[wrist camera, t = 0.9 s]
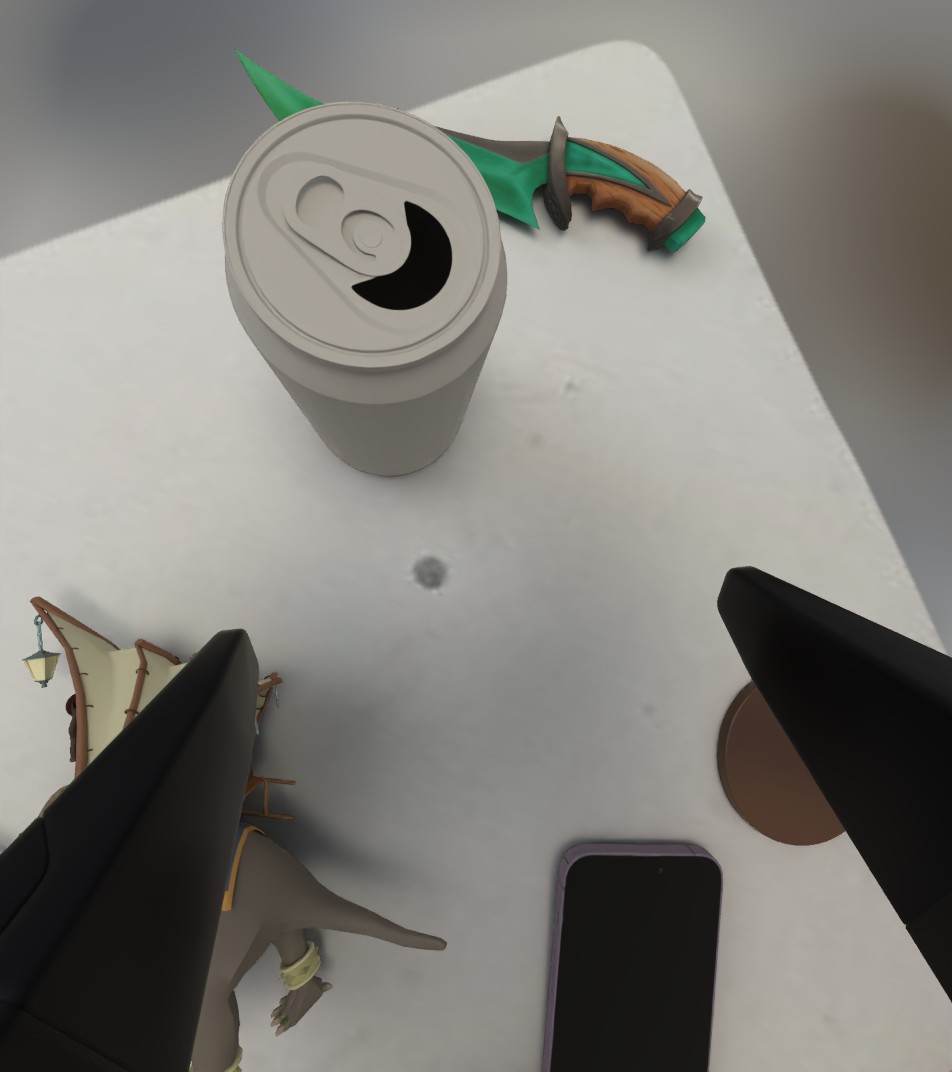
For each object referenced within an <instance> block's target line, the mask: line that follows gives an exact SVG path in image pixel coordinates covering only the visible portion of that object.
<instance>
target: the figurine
mask: <svg viewBox="0 0 952 1072" xmlns="http://www.w3.org/2000/svg"><path fill="white" fill-rule="evenodd" d="M30 602H31V603H32V605H33V606H34V608H35V609H36V610H37V612H38V613H39V615H38V616H36V617H35V619H34V624H35V625H36V626H37V636H38V646H39V651H38V652H37V653H35V654H33V655H32V656H30V657H28V658H26V659H23V660H22V661H24V663H25V665H26V667H27V668H28V670H29V672H30V674H31V675H32V677H33V679H34V681H35V682H39V683H40V684H42V688H44V687H47V684H46V683H48V680H50V679H52V677H53V674H54V671H55V668H56V664H57V661H58V658H59V655H60V654H61V653H50V652H46V651H44V650H43V642H42V632H41V624H42V623H43V620H44V621H45V623H46V624H47V625H48V627H49V628H50V630H51V631H52V632H53V634H54V635H55V636H56V638H57V639H58V641H59V642H60V643H61V645H62V646H63V647H64V649H65V652H66V656H67V660H68V664H69V668H70V672H71V676H72V680H73V684H74V688H75V692H76V694H74V695H72V696H71V697H70V698H69V699H68V701H67V703H66V710H67V713H68V714H70V715H71V716H72V721H71V723H70V727H69V734H70V739H71V747H70V755H71V758H70V762H75V761H76V766H75V778H76V777H77V776H78V775H79V774H80V773H81V772H82V771H83V770H84V769H85V768H86V767H87V766H88V765H89V764H90V763H91V762H92V761H93V760H94V759H95V758H96V757H97V756H98V755H99V754H100V753H101V752H102V751H103V750H104V748H105V747H106V746H107V745H108V744H109V743H110V742H111V741H112V740H113V739H114V738H115V737H116V736H117V735H118V734H119V733H120V732H121V731H122V730H123V729H124V728H125V727H126V726H127V725H128V724H129V723H130V722H131V721H132V720H133V719H134V718H135V717H136V716H137V715H138V714H139V713H140V711H141V710H142V709H143V708H144V707H145V706H146V705H147V704H148V703H149V702H150V701H151V700H152V699H153V698H154V697H155V696H156V695H157V694H158V693H159V692H160V691H161V690H162V689H163V688H164V687H165V686H166V685H167V684H168V683H169V682H170V681H171V680H172V679H173V678H174V677H175V676H176V675H177V673H178V672H179V671H180V670H181V669H182V668H183V667H184V666H185V665H186V664H187V663H185V664H181V663H180V662H179V658H178V657H174V656H173V655H172V654H170V653H169V652H167V651H165V650H163V649H161V648H159V647H157V646H155V645H153V644H151V643H149V642H147V641H145V640H143V639H138V640H137V641H136V642H135V643H134V644H135V647H136V648H130V649H124V650H121V649H119V648H118V647H117V646H116V645H114V644H113V643H112V642H111V641H109V640H108V639H106V638H105V637H103V636H101V635H100V634H98V633H97V632H95V631H94V630H92V629H90V628H89V627H87V626H86V625H84V624H82V623H81V622H79V621H78V620H76V619H74V618H73V617H71V616H70V615H68V614H66V613H65V612H63V611H62V610H60V609H59V608H57V607H55V606H54V605H52V604H51V603H49V602H47V601H46V600H44V599H43V598H41V597H34V598H32V599H31V601H30ZM44 610H46V611H47V613H46V612H45V611H44ZM38 617H41V622H39V621H38V622H37V619H38ZM38 623H39V624H38ZM38 625H39V626H38ZM39 633H40V635H39ZM40 642H41V644H40ZM143 648H144V649H143ZM196 654H197V653H195V654H193V655H192V657H190V660H191V659H192V658H193V657H194V656H195V655H196ZM176 658H177V659H178V660H177V659H176ZM277 676H278V674H277V673H276V672H274V673H272V674H271V675H269V676H267V677H265V678H264V680H258V692H257V705H256V717H255V730H254V742H255V737H256V733H257V735H259V730H258V725H259V723H260V720H261V718H262V716H263V713H264V711H265V709H266V706H267V704H268V701H269V699H270V696H271V693H272V691H273V688H274V686H275V692H276V695H277V696H276V701H277V707H278V708H279V702H278V700H277V699H278V694H277V688H276V687H277V684H280V683H282V678H280V677H278V678H277ZM268 677H270V679H266V678H268ZM254 742H253V746H254ZM262 781H264V804H263V813H262V812H253V811H245V810H242V811H241V814H244V815H253V816H261V817H270V818H278V819H287V820H294V816H288V815H279V814H271V813H267V811H268V782H273V783H282V784H291V785H294V784H295V781H290V780H281V779H272V778H263V777H256V776H253V770H252V760H251V766H250V771H249V776H248V781H247V786H246V791H245V796H244V798H245V797H246V796H247V795H248V794H249V793H250V792H251V791H252V790H253V789H254V788H255V787H256V786H257V785H259V784H260V783H261V782H262ZM67 786H68V785H67ZM67 786H65V787H62V788H61V789H59V790H58V791H57V792H56V793H55V794H54V795H52V796H51V797H50V799H49V800H48V801H47V803H46V804H45V806H44V807H43V809H42V810H41V812H40V814H39V816H38V817H43V816H42V814H43V811H44V810H45V809H46V808H47V807H48V806H49V805H50V804H51V803H52V802H53V801H54V800H55V799H56V798H57V797H58V796H59V795H60V794H61V793H62V792H63V791H64V790H65V789H66V788H67ZM19 836H20V834H19ZM19 836H18V837H19ZM306 928H325V929H331V930H338V931H344V932H350V933H357V934H362V935H368V936H372V937H375V938H379V939H382V940H385V941H389V942H392V943H395V944H398V945H401V946H404V947H411V948H418V949H426V950H444V949H445V948H446V945H447V942H446V941H444V940H443V939H442V938H438V937H435V936H431V935H427V934H423V933H420V932H416V931H412V930H408V929H405V928H403V927H401V926H399V925H397V924H395V923H393V922H391V921H389V920H387V919H385V918H384V917H382V916H380V915H378V914H376V913H374V912H372V911H370V910H368V909H366V908H363V907H361V906H359V905H356V904H354V903H352V902H350V901H347V900H345V899H343V898H341V897H339V896H337V895H336V894H334V893H333V892H331V891H329V890H328V889H327V888H325V887H324V886H323V885H322V884H320V883H319V882H318V881H317V880H316V878H315V877H314V876H313V875H312V874H311V873H310V872H309V871H308V870H307V869H306V868H305V867H304V866H303V865H302V864H301V863H300V862H299V861H298V860H297V859H296V858H295V857H294V856H293V855H292V854H290V853H289V852H287V851H286V850H285V849H283V848H282V847H280V846H279V845H278V844H276V843H275V842H273V841H272V840H270V839H268V837H267V836H266V834H265V833H264V832H262V831H261V830H260V829H259V828H256V827H254V826H252V825H248V824H244V823H241V822H239V826H238V831H237V836H236V841H235V846H234V850H233V855H232V860H231V865H230V870H229V875H228V880H227V885H226V890H225V895H224V900H223V905H222V910H221V915H220V920H219V925H218V929H217V934H216V939H215V944H214V949H213V954H212V959H211V964H210V969H209V974H208V979H207V984H206V989H205V994H204V999H203V1004H202V1009H201V1013H200V1018H199V1023H198V1028H197V1033H196V1038H195V1043H194V1048H193V1053H192V1058H191V1061H192V1066H191V1067H190V1069H189V1072H242V1070H241V1068H240V1067H239V1066H238V1064H239V1063H240V1061H241V1059H242V1048H241V1047H240V1046H239V1038H238V1033H239V1026H240V1021H239V1012H238V1005H237V1000H236V996H235V992H234V991H233V990H234V988H235V987H236V986H237V985H238V983H239V981H240V980H241V978H242V977H243V976H244V974H245V973H246V972H247V971H248V970H249V969H250V968H251V967H252V966H253V965H254V964H255V963H256V961H257V960H258V959H259V958H260V957H261V956H262V954H263V953H264V952H265V950H266V949H267V947H268V946H269V944H270V943H271V942H272V943H273V944H274V946H275V947H276V948H277V950H278V952H279V954H280V956H281V958H282V962H281V964H280V970H281V971H282V974H281V975H280V977H279V978H286V979H285V985H286V984H287V985H286V987H287V988H288V989H289V990H290V992H289V994H288V995H287V996H285V997H283V998H282V999H281V1000H280V1002H279V1003H280V1006H279V1007H277V1008H275V1009H274V1010H273V1012H272V1014H271V1018H272V1017H275V1018H274V1019H273V1021H272V1023H271V1027H273V1026H275V1025H278V1024H280V1025H279V1026H278V1028H277V1031H276V1034H275V1035H276V1036H278V1035H279V1034H281V1033H282V1032H284V1031H286V1030H288V1029H289V1028H290V1027H293V1026H294V1025H296V1023H297V1022H298V1021H299V1020H300V1019H301V1018H302V1017H303V1016H304V1015H305V1013H306V1012H307V1011H308V1010H309V1009H310V1008H311V1007H312V1006H313V1005H314V1004H315V1002H316V1001H317V1000H318V999H319V998H320V997H321V996H322V994H323V992H325V991H327V990H329V989H330V988H332V984H330V983H328V982H324V983H322V979H321V978H319V977H316V976H315V975H314V974H315V973H316V972H317V971H318V968H319V966H320V964H321V962H320V957H321V956H319V955H318V954H317V952H318V949H319V946H317V947H314V942H311V941H306V936H305V932H304V929H306Z"/></svg>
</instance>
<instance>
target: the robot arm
mask: <svg viewBox="0 0 952 1072" xmlns="http://www.w3.org/2000/svg"><path fill="white" fill-rule="evenodd" d="M717 607H718V611H719V613H720V615H721V618H722V620H723V622H724V624H725V626H726V628H727V630H728V632H729V634H730V636H731V638H732V640H733V642H734V644H735V646H736V648H737V650H738V652H739V654H740V656H741V659H742V661H743V663H744V665H745V667H746V669H747V671H748V673H749V674H750V676H751V678H752V680H753V682H754V683H755V685H756V687H757V689H758V690H759V692H760V693H761V695H762V697H763V698H764V700H765V701H766V703H767V705H768V706H769V708H770V710H771V711H772V713H773V714H774V716H775V718H776V719H777V721H778V722H779V724H780V726H781V727H782V729H783V730H784V732H785V734H786V735H787V737H788V739H789V740H790V742H791V743H792V745H793V747H794V748H795V750H796V751H797V753H798V755H799V756H800V758H801V760H802V761H803V763H804V764H805V766H806V768H807V769H808V771H809V772H810V774H811V776H812V777H813V779H814V780H815V782H816V784H817V785H818V787H819V789H820V790H821V792H822V793H823V795H824V797H825V798H826V800H827V801H828V803H829V805H830V806H831V808H832V809H833V811H834V813H835V814H836V816H837V818H838V819H839V821H840V822H841V824H842V826H843V827H844V829H845V830H846V832H847V834H848V835H849V837H850V838H851V840H852V842H853V843H854V845H855V847H856V848H857V850H858V851H859V853H860V855H861V856H862V858H863V859H864V861H865V863H866V864H867V866H868V867H869V869H870V871H871V872H872V874H873V876H874V877H875V879H876V880H877V882H878V884H879V885H880V887H881V888H882V890H883V892H884V893H885V895H886V896H887V898H888V900H889V901H890V903H891V905H892V906H893V908H894V909H895V911H896V913H897V914H898V916H899V917H900V919H901V921H902V922H903V923H904V924H905V925H906V929H907V931H908V933H909V934H910V936H911V937H912V939H913V941H914V942H915V944H916V945H917V947H918V949H919V950H920V952H921V953H922V955H923V957H924V958H925V960H926V962H927V963H928V965H929V966H930V968H931V970H932V971H933V973H934V974H935V976H936V978H937V979H938V981H939V983H940V984H941V986H942V987H943V989H944V991H945V992H946V994H947V995H948V997H949V999H950V1000H951V1002H952V658H951V657H949V656H947V655H945V654H943V653H940V652H938V651H936V650H934V649H932V648H929V647H927V646H925V645H923V644H921V643H918V642H916V641H914V640H912V639H910V638H908V637H905V636H903V635H901V634H899V633H897V632H894V631H892V630H890V629H888V628H886V627H884V626H881V625H879V624H877V623H875V622H873V621H870V620H868V619H866V618H864V617H862V616H859V615H857V614H855V613H853V612H851V611H849V610H846V609H844V608H842V607H840V606H838V605H835V604H833V603H831V602H829V601H827V600H825V599H822V598H820V597H818V596H816V595H814V594H811V593H809V592H807V591H805V590H803V589H801V588H798V587H796V586H794V585H792V584H790V583H787V582H785V581H783V580H781V579H779V578H777V577H774V576H772V575H770V574H768V573H766V572H763V571H761V570H759V569H757V568H755V567H751V566H745V567H737V568H732V569H730V570H729V571H728V572H727V574H726V576H725V579H724V582H723V585H722V588H721V591H720V593H719V596H718V600H717ZM258 680H259V665H258V661H257V658H256V655H255V652H254V649H253V647H252V644H251V641H250V638H249V636H248V633H247V632H246V631H245V630H244V629H232V630H224V631H220V632H218V633H217V634H216V635H214V636H213V638H212V639H211V640H210V641H209V642H208V643H207V644H206V645H205V646H204V647H203V648H202V649H201V650H200V651H199V652H198V653H197V654H196V655H195V656H194V657H193V658H192V659H191V660H190V661H189V662H188V663H187V664H186V665H185V666H184V667H183V668H182V669H181V670H180V671H179V672H178V673H177V675H176V676H175V677H174V678H173V679H172V680H171V681H170V682H169V683H168V684H167V685H166V686H165V687H164V688H163V689H162V690H161V691H160V692H159V693H158V694H157V695H156V696H155V697H154V698H153V699H152V700H151V701H150V702H149V703H148V704H147V705H146V706H145V707H144V708H143V709H142V710H141V711H140V713H139V714H138V715H137V716H136V717H135V718H134V719H133V720H132V721H131V722H130V723H129V724H128V725H127V726H126V727H125V728H124V729H123V730H122V731H121V732H120V733H119V734H118V735H117V736H116V737H115V738H114V739H113V740H112V741H111V742H110V743H109V744H108V745H107V746H106V747H105V748H104V750H103V751H102V752H101V753H100V754H99V755H98V756H97V757H96V758H95V759H94V760H93V761H92V762H91V763H90V764H89V765H88V766H87V767H86V768H85V769H84V770H83V771H82V772H81V773H80V774H79V775H78V776H77V777H76V778H75V779H74V780H73V781H72V782H71V783H70V784H69V785H68V786H67V788H66V789H65V790H64V791H63V792H62V793H61V794H60V795H59V796H58V797H57V798H56V799H55V800H54V801H53V802H52V803H51V804H50V805H49V806H48V807H47V808H46V809H45V810H44V811H43V814H42V816H43V817H38V818H36V819H35V820H34V821H33V822H32V823H31V824H30V825H29V826H28V827H27V828H26V829H25V830H24V831H23V832H22V833H21V834H20V836H19V837H18V838H17V839H16V840H15V841H14V842H13V843H12V844H11V845H10V846H9V847H8V848H7V849H6V850H5V851H4V852H3V853H2V854H1V855H0V1072H189V1068H190V1063H191V1058H192V1053H193V1048H194V1043H195V1038H196V1033H197V1028H198V1023H199V1018H200V1013H201V1009H202V1004H203V999H204V994H205V989H206V984H207V979H208V974H209V969H210V964H211V959H212V954H213V949H214V944H215V939H216V934H217V929H218V925H219V920H220V915H221V910H222V905H223V900H224V895H225V890H226V885H227V880H228V875H229V870H230V865H231V860H232V855H233V850H234V846H235V841H236V836H237V831H238V826H239V821H240V816H241V811H242V806H243V801H244V796H245V791H246V786H247V781H248V776H249V771H250V766H251V760H252V752H253V742H254V730H255V717H256V705H257V692H258Z"/></svg>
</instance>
